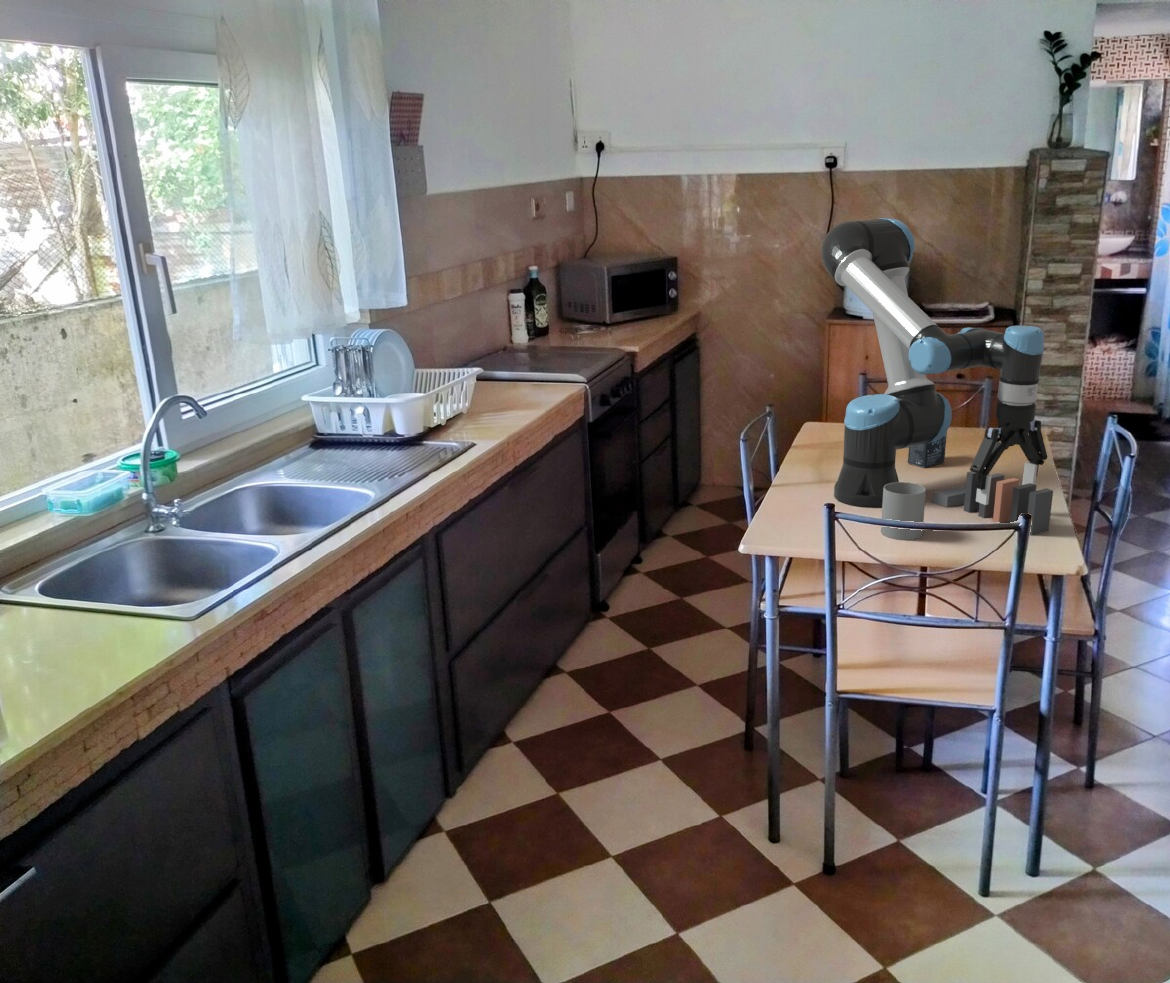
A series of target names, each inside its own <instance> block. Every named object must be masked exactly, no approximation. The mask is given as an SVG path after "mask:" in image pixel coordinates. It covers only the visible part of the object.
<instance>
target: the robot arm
mask: <svg viewBox="0 0 1170 983" xmlns="http://www.w3.org/2000/svg"><path fill="white" fill-rule="evenodd" d="M915 247H916V243H915V238H914V235H913V233H912V231H911V229H910V228H909V227H908V226H907V225H906V224H905V223H904V222H902V221H901V220H899V219H895V218H883V217H881V218H880V217H879V218H877V219H876V218H875V219H868V220H867V219H865V220H849V221H844V222H840V223H838V224H836V225H835V226H833V227H832V228H831V229H830V230H829V231H828V232H827V234H826V235H825V237H824V238H823V241H822V243H821V249H820V253H821V255H820V257H821V262H822V264H823V267H824V269H825V270H826V272H827V273H828V275H829V276H830V277H831V278H832V280H833V281H835V282H836V284H838V285H839V286H840V287H841V286H842V287H847V288H848V289H849V290H850V291H851V292H852V293H853V294H854V295H855V296H856V297H857V298H858V299H859V300H860V301H861V302H862V303H863V304H864V305H865V306H866V307H867V308H868V309H869V311H871V312H872V317H873V321H874V325H875V330H876V335H877V339H878V343H879V348H880V353H881V356H882V362H883V367H884V372H885V376H886V381H887V385H888V386H887V388H886V390H885V392H884V393H883V394H882V393H881V394H880V393H877V394H867V395H862V396H860V397H859V396H858V397H856V398H854V399H852V400H851V401H849V403H848V404H847V406H846V408H845V416H844V420H843V421H844V430H843V432H844V435H843V436H844V437H843V454H842V455H843V458H842V459H843V460H842V467H841V469H840V471H839V474H838V478H837V481H836V482H835V484H834V488H833V497H834V498H835V499H836V500H837V501H839V502H841V503H843V504H847V505H851V506H856V507H865V508H867V507H869V508H875V507H876V508H878V507H879V508H880V507H881V508H882V503H883V487H884V486H885V485H886V484H889V483H896V482H900V480H899V477H898V473H897V469H896V457H897V456H896V454H897V450H902V449H907V448H908V449H909V447H913V446H918V445H925V444H929V443H930V442H934V441H937V440H939V439H940V438H942V437H943V436H944V435H945V434H946V431H947V432H948V430H949V428H950V425H951V423H952V416H953V414H952V413H953V412H952V406H951V404H950V402H949V400H948V398H946V397H945V396H944V395H943V394H942V393H940V392H937V391H936V387H935V383H934V382H933V381H932V380H930V379H928V378H927V376H926V375H938V374H942V373H946V372H950V371H951V372H952V371H957V370H963V369H971V368H976V367H985V368H991V369H995V370H1000V374H999V375H1000V376H999V382H998V383H999V384H998V391H997V399H998V401H997V403H996V409H995V419H996V420H997V421H998V424H997V426H996V427H991V426H987V427H986V428H985V431H984V436H983V438H982V442H981V443H980V445H979V448H978V450H977V452H976V454H975V456H974V459H973V461H972V463H971V465H970V467H969V472H970V471H972V472H975V473H977V482H976V488H977V494H976V502H979V503H982V504H984V505H988V502H989V493H990V485H991V476H992V475H993V474H990V472H991V471H992V470H993V468H994V467H995V465H996V463H997V462H998V461H999V459H1000V457H1001V456H1002V455H1003V453H1004V452H1005V451H1006V450H1008V449H1009V448H1010V447H1013V446H1015V445H1017V446H1019V448H1020V449H1021V451H1022V452H1023V454H1024V456H1025V457H1026V459H1027V461H1026V462H1024V464H1023V465H1024V467H1023V475H1022V483H1021V485H1024V484H1029V483H1031V484H1035V485H1036V479H1037V476H1038V474H1039V472H1038V471H1039V465H1040V466H1043V465H1044V463H1045V461H1046V460H1047V459H1048V453H1047V449H1046V445H1045V441H1044V437H1043V433H1042V422H1041V420H1038V419H1035V416H1036V407H1037V405H1036V403H1035V402H1037V396H1038V391H1039V390H1038V388H1039V383H1040V371H1041V366H1042V361H1043V356H1044V351H1045V348H1044V346H1045V344H1044V343H1045V332H1044V330H1043V329H1042V328H1040V327H1038V326H1031V325H1011V326H1008V327H1007V328H1006V329H1005V332H1004V333H1003V332H999V331H994V330H989V329H984V328H982V327H964V328H962V329H961V330H959V331H958V332H957V333H953V334H951V333H950V334H948V333H946V332H945V331H944V329H942V328H941V327H940V326H939V325H938V324H937V323H936V322H935V321H933V319H932V318H930V316H929V315H928V314H927V313H925V312H924V311H923V309H921V308H920V307H919V306H918V305H917V304H916V303H915V302H914V300H912V299H911V297H909V294H908V289H907V285H906V280H905V277H906V276H907V274H908V273H909V271H910V267H909V264H910V262H911V261H912V260H913V258H914V254H913V253H914V252H915V249H916V248H915Z"/></svg>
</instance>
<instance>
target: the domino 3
mask: <svg viewBox="0 0 1170 983" xmlns="http://www.w3.org/2000/svg"><path fill="white" fill-rule="evenodd" d="M1020 482H1021V480H1020V479H1019V478H1015V477H1012V478H1006V479H1004V480H1002V481H998V482H997V484H996V495H995V505H994V515H993V516H992V522H994V523H996V522H1003V523H1006V522H1005V521H1007V522H1010V514H1011V504H1012V494H1013V487H1015V486H1020Z"/></svg>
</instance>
